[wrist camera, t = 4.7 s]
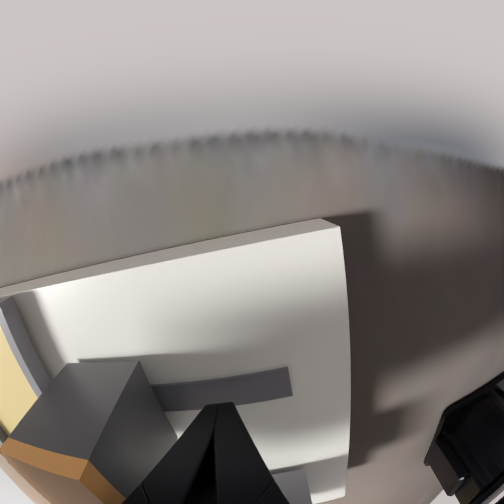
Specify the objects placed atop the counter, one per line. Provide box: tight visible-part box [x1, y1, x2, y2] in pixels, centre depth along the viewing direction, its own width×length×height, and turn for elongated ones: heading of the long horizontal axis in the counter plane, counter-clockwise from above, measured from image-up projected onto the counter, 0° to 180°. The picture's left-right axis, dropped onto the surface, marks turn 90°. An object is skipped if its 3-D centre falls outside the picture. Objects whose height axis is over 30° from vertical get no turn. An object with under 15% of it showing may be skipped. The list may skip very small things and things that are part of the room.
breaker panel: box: [0, 218, 351, 504], centre depth 9 cm, size 20×15×3 cm
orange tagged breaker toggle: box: [0, 360, 178, 504], centre depth 6 cm, size 3×4×5 cm
